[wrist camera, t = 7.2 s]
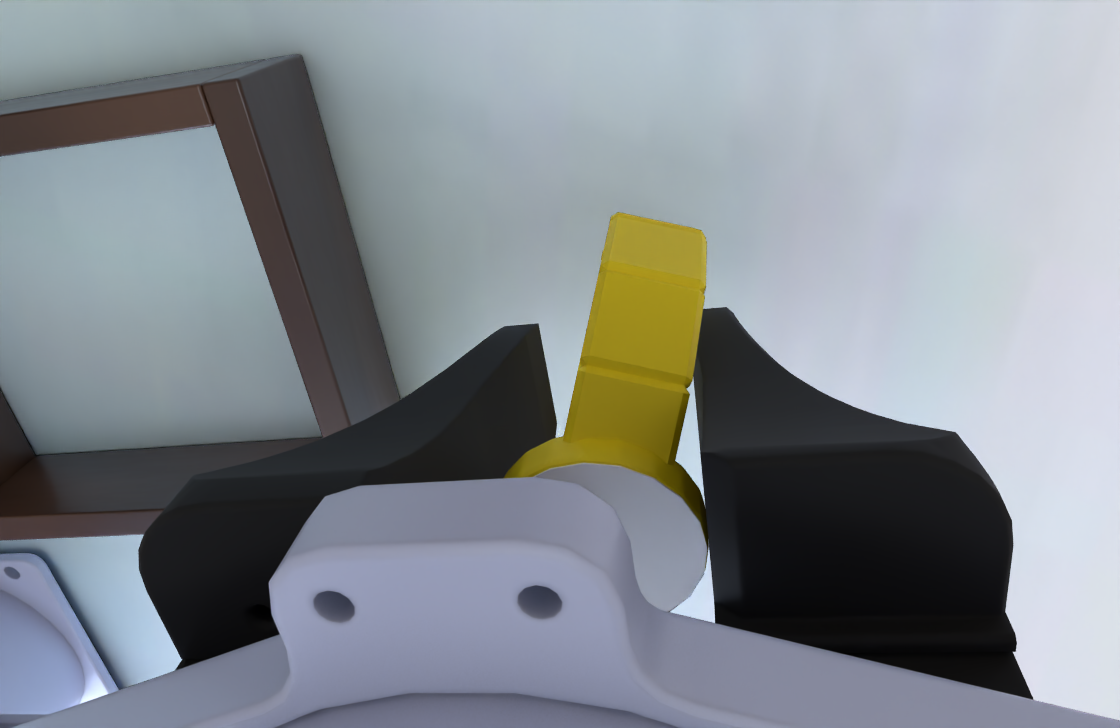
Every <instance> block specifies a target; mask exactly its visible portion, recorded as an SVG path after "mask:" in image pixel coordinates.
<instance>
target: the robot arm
mask: <svg viewBox="0 0 1120 728" xmlns="http://www.w3.org/2000/svg"><path fill="white" fill-rule="evenodd" d="M693 377H694V388H695V399H696V409H697V420H698V431H699V441H700V454H701V465H702V475H703V486H704V496H705V507H706V518H707V528H708V539H709V550H710V560H711V571H712V581H713V592H714V605H715V623H712V622H708V621H704V620H700V619H695V618H691V617H687V616H683V615H679V614H675V613H670V612H666V611H663V610H660V609H658V608H657V607H655V606H653V605H652V604H650V603H649V602H648V601H647V600H646V599H645V598H644V596H643V595H642V593H641V592H640V589H639V585H638V582H637V579H636V576H635V569H634V563H633V556H632V549H631V543H630V539H629V537H628V535H627V533H626V531H625V529H624V527H623V525H622V523H621V521H620V519H619V517H618V515H617V513H616V511H615V509H614V508H613V507H612V506H610V505H609V504H607V503H606V502H605V501H603V500H602V499H600V498H599V497H597V496H596V495H594V494H593V493H591V492H590V491H588V490H587V489H585V488H584V487H582V486H581V485H579V484H575V483H569V482H563V481H557V480H551V479H545V478H539V477H523V478H504V477H505V475H506V473H507V472H508V470H509V469H510V468H511V467H512V466H513V465H514V464H515V463H516V462H517V461H518V460H519V459H520V458H521V457H522V456H523V455H524V454H525V453H526V452H528V451H529V450H531V449H533V448H535V447H537V446H539V445H541V444H543V443H545V442H547V441H549V440H551V439H554V438H555V436H556V427H557V421H556V415H555V410H554V405H553V399H552V394H551V389H550V383H549V378H548V373H547V367H546V362H545V357H544V351H543V346H542V340H541V335H540V330H539V324H527V325H515V326H505V327H503V328H501V329H499V330H497V331H496V332H494V333H493V334H491V335H490V336H489V337H487V338H486V339H485V340H483V341H482V342H481V343H479V344H478V345H477V346H476V347H474V348H473V349H472V350H470V351H469V352H468V353H466V354H465V355H464V356H463V357H461V358H460V359H459V360H457V361H456V362H455V363H453V364H452V365H451V366H449V367H448V368H447V369H445V370H444V371H443V372H441V373H440V374H438V375H437V376H435V377H434V378H433V379H431V380H430V381H428V382H427V383H425V384H424V385H422V386H421V387H419V388H418V389H417V390H415V391H414V392H412V393H411V394H409V395H408V396H406V397H404V398H403V399H401V400H399V401H398V402H396V403H394V404H393V405H391V406H389V407H387V408H386V409H384V410H382V411H380V412H378V413H376V414H374V415H373V416H371V417H369V418H367V419H365V420H363V421H361V422H359V423H356V424H354V425H352V426H349V427H347V428H345V429H342V430H340V431H338V432H336V433H333V434H331V435H329V436H326V437H324V438H322V439H319V440H317V441H314V442H312V443H309V444H306V445H303V446H300V447H297V448H295V449H292V450H289V451H286V452H282V453H279V454H276V455H273V456H270V457H266V458H263V459H259V460H256V461H252V462H248V463H244V464H240V465H235V466H231V467H227V468H223V469H219V470H215V471H210V472H206V473H201V474H196V475H193V476H192V477H191V478H190V479H189V481H188V482H187V483H186V484H185V485H184V487H183V488H182V489H181V490H180V491H179V492H178V494H177V495H176V496H175V497H174V498H173V499H172V501H171V502H170V503H169V504H168V505H167V507H166V508H165V509H164V510H163V511H162V512H161V514H160V515H159V516H158V517H157V518H156V519H155V521H154V522H153V523H152V524H151V525H150V527H149V528H148V529H147V530H146V531H145V533H144V536H143V539H142V541H141V544H140V547H139V571H140V574H141V576H142V579H143V582H144V585H145V588H146V590H147V593H148V595H149V597H150V598H151V600H152V602H153V604H154V606H155V608H156V610H157V612H158V614H159V616H160V618H161V620H162V622H163V624H164V626H165V628H166V630H167V632H168V634H169V635H170V637H171V639H172V641H173V643H174V645H175V647H176V649H177V651H178V653H179V655H180V657H181V659H182V661H181V662H180V664H179V665H178V667H177V668H176V670H175V671H173V672H170V673H167V674H164V675H161V676H159V677H156V678H153V679H150V680H147V681H144V682H141V683H138V684H136V685H133V686H130V687H127V688H124V689H121V690H119V689H118V688H117V686H116V684H115V683H114V681H113V679H112V677H111V676H110V674H109V672H108V670H107V669H106V667H105V665H104V663H103V662H102V660H101V658H100V656H99V655H98V653H97V651H96V650H95V648H94V646H93V644H92V643H91V641H90V639H89V637H88V636H87V634H86V632H85V630H84V629H83V627H82V625H81V623H80V622H79V620H78V618H77V617H76V615H75V613H74V611H73V610H72V608H71V606H70V604H69V603H68V601H67V599H66V597H65V596H64V594H63V592H62V591H61V589H60V587H59V585H58V584H57V582H56V580H55V578H54V577H53V575H52V573H51V571H50V570H49V568H48V566H47V564H46V563H45V562H44V560H43V559H41V558H40V557H39V556H37V555H34V554H30V553H15V554H0V728H1120V720H1115V719H1111V718H1107V717H1103V716H1098V715H1094V714H1090V713H1086V712H1082V711H1078V710H1073V709H1069V708H1065V707H1061V706H1057V705H1053V704H1049V703H1044V702H1040V701H1036V700H1033V697H1032V695H1031V693H1030V690H1029V688H1028V686H1027V684H1026V681H1025V679H1024V677H1023V675H1022V672H1021V670H1020V668H1019V665H1018V663H1017V661H1016V659H1015V656H1014V654H1013V652H1016V645H1017V641H1016V636H1015V632H1014V630H1013V628H1012V626H1011V624H1010V621H1009V619H1008V617H1007V615H1006V613H1005V609H1006V601H1007V592H1008V584H1009V576H1010V568H1011V560H1012V552H1013V532H1012V520H1011V518H1010V515H1009V513H1008V511H1007V509H1006V506H1005V504H1004V502H1003V500H1002V497H1001V495H1000V493H999V491H998V490H997V488H996V486H995V484H994V483H993V481H992V479H991V478H990V476H989V475H988V473H987V472H986V471H985V469H984V468H983V466H982V465H981V464H980V462H979V461H978V460H977V458H976V457H975V456H974V454H973V453H972V452H971V451H970V450H969V448H968V447H967V446H966V445H965V443H964V442H963V441H962V439H961V438H960V437H959V435H958V434H957V433H956V432H951V431H946V430H940V429H935V428H929V427H924V426H918V425H913V424H907V423H903V422H899V421H896V420H892V419H889V418H885V417H882V416H878V415H875V414H872V413H869V412H866V411H863V410H861V409H858V408H855V407H853V406H851V405H848V404H846V403H844V402H841V401H839V400H837V399H835V398H832V397H830V396H828V395H826V394H824V393H822V392H820V391H818V390H817V389H815V388H813V387H812V386H810V385H808V384H807V383H805V382H803V381H802V380H800V379H799V378H797V377H795V376H794V375H793V374H791V373H790V372H788V371H787V370H786V369H785V368H783V367H782V366H781V365H780V364H778V363H777V362H776V361H775V360H774V359H773V358H772V357H771V356H770V355H769V354H768V353H767V352H766V351H765V350H764V349H763V348H762V347H761V346H760V345H759V344H758V343H757V342H756V341H755V340H754V339H753V338H752V337H751V336H750V335H749V334H748V332H747V331H746V330H745V329H744V328H743V326H742V325H741V324H740V323H739V321H738V320H737V318H736V317H735V315H734V313H733V312H731V311H730V310H729V309H728V308H727V307H723V308H711V309H703V313H702V319H701V326H700V333H699V339H698V346H697V353H696V359H695V366H694V373H693Z"/></svg>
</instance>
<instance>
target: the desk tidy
mask: <svg viewBox="0 0 1120 728" xmlns="http://www.w3.org/2000/svg"><path fill="white" fill-rule="evenodd" d="M214 125H216V128H217V131H218V134H219V137H220V140H221V143H222V146H223V149H224V152H225V155H226V157H227V160H228V163H229V166H230V169H231V172H232V175H233V178H234V181H235V184H236V187H237V189H238V192H239V195H240V198H241V201H242V204H243V207H244V210H245V213H246V216H247V219H248V221H249V224H250V227H251V230H252V233H253V236H254V239H255V242H256V245H257V248H258V250H259V253H260V256H261V259H262V262H263V265H264V268H265V271H266V274H267V277H268V280H269V282H270V285H271V288H272V291H273V294H274V297H275V300H276V303H277V306H278V309H279V312H280V314H281V317H282V320H283V323H284V326H285V329H286V332H287V335H288V338H289V341H290V344H291V346H292V349H293V352H294V355H295V358H296V361H297V364H298V367H299V370H300V373H301V376H302V378H303V381H304V384H305V387H306V390H307V393H308V396H309V399H310V402H311V405H312V407H313V410H314V413H315V416H316V419H317V422H318V425H319V428H320V431H321V434H322V437H323V438H324V437H326V436H329V435H331V434H333V433H336V432H338V431H340V430H342V429H345V428H347V427H349V426H352V425H354V424H356V423H359V422H361V421H363V420H365V419H367V418H369V417H371V416H373V415H374V414H376V413H378V412H380V411H382V410H384V409H386V408H387V407H389V406H391V405H393V404H394V403H396V402H398V401H399V400H400V398H399V394H398V391H397V387H396V384H395V380H394V377H393V373H392V370H391V366H390V363H389V359H388V356H387V352H386V349H385V345H384V342H383V338H382V335H381V331H380V328H379V324H378V321H377V317H376V314H375V310H374V307H373V303H372V300H371V296H370V293H369V289H368V286H367V282H366V279H365V275H364V272H363V268H362V265H361V261H360V258H359V254H358V251H357V247H356V244H355V240H354V237H353V233H352V230H351V226H350V223H349V219H348V216H347V212H346V209H345V205H344V202H343V198H342V195H341V191H340V188H339V184H338V181H337V177H336V174H335V170H334V167H333V163H332V160H331V156H330V153H329V149H328V146H327V142H326V139H325V135H324V132H323V128H322V125H321V121H320V118H319V114H318V111H317V107H316V104H315V100H314V97H313V93H312V90H311V86H310V83H309V79H308V76H307V72H306V69H305V65H304V61H303V58H302V56H301V55H299V54H295V55H289V56H282V57H276V58H270V59H267V60H265V59H263V60H257V61H251V62H244V63H238V64H232V65H225V66H219V67H213V68H206V69H200V70H194V71H188V72H181V73H175V74H169V75H162V76H156V77H150V78H143V79H137V80H131V81H124V82H118V83H112V84H106V85H99V86H93V87H87V88H80V89H74V90H68V91H61V92H55V93H49V94H42V95H36V96H30V97H24V98H17V99H11V100H5V101H0V157H1V156H8V155H15V154H22V153H29V152H36V151H43V150H50V149H57V148H64V147H71V146H78V145H85V144H92V143H98V142H105V141H112V140H119V139H126V138H133V137H140V136H147V135H154V134H161V133H168V132H175V131H182V130H189V129H196V128H203V127H210V126H214ZM319 439H322V438H309V439H293V440H277V441H262V442H246V443H230V444H214V445H198V446H183V447H167V448H151V449H135V450H120V451H104V452H88V453H72V454H56V455H41V456H35V454H34V452H33V450H32V448H31V447H30V445H29V443H28V441H27V439H26V437H25V436H24V434H23V432H22V430H21V428H20V426H19V424H18V423H17V421H16V419H15V417H14V415H13V413H12V412H11V410H10V408H9V406H8V404H7V402H6V400H5V399H4V397H3V395H2V393H1V391H0V541H1V540H25V539H49V538H73V537H97V536H121V535H144V533H145V531H146V530H147V529H148V528H149V527H150V525H151V524H152V523H153V522H154V521H155V519H156V518H157V517H158V516H159V515H160V514H161V512H162V511H163V510H164V509H165V508H166V507H167V505H168V504H169V503H170V502H171V501H172V499H173V498H174V497H175V496H176V495H177V494H178V492H179V491H180V490H181V489H182V488H183V487H184V485H185V484H186V483H187V482H188V481H189V479H190V478H191V477H192V476H193V475H196V474H201V473H206V472H210V471H215V470H219V469H223V468H227V467H231V466H235V465H240V464H244V463H248V462H252V461H256V460H259V459H263V458H266V457H270V456H273V455H276V454H279V453H282V452H286V451H289V450H292V449H295V448H297V447H300V446H303V445H306V444H309V443H312V442H314V441H317V440H319Z"/></svg>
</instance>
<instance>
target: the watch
mask: <svg viewBox="0 0 1120 728" xmlns="http://www.w3.org/2000/svg"><path fill="white" fill-rule="evenodd" d="M706 254H707V241H706V237H705V236H704V234H703V232H702V231H701V230H698V229H695V228H691V227H687V226H682V225H677V224H672V223H668V222H663V221H658V220H653V219H649V218H644V217H639V216H634V215H630V214H625V213H620V212H617V213H616V214H614V215H613V216H611V219H610V224H609V228H608V233H607V237H606V242H605V247H604V251H603V252H602V257H601V260H602V261H601V265H600V270H599V275H598V279H597V284H596V288H595V293H594V298H593V302H592V307H591V312H590V316H589V321H588V326H587V330H586V335H585V339H584V344H583V349H582V353H581V358H580V363H579V367H578V372H577V377H576V381H575V386H574V391H573V395H572V400H571V404H570V409H569V414H568V418H567V423H566V428H565V432H564V436H563V437H558V438H554V439H551V440H549V441H547V442H545V443H543V444H541V445H539V446H537V447H535V448H533V449H531V450H529V451H528V452H526V453H525V454H524V455H523V456H522V457H521V458H520V459H519V460H518V461H517V462H516V463H515V464H514V465H513V466H512V467H511V468H510V469H509V470H508V472H507V473H506V475H505V477H504V478H523V477H539V478H545V479H551V480H557V481H563V482H569V483H575V484H579V485H581V486H582V487H584V488H585V489H587V490H588V491H590V492H591V493H593V494H594V495H596V496H597V497H599V498H600V499H602V500H603V501H605V502H606V503H607V504H609V505H610V506H612V507H613V508H614V509H615V511H616V513H617V515H618V517H619V519H620V521H621V523H622V525H623V527H624V529H625V531H626V533H627V535H628V537H629V539H630V543H631V549H632V556H633V563H634V569H635V576H636V579H637V582H638V585H639V589H640V592H641V593H642V595H643V596H644V598H645V599H646V600H647V601H648V602H649V603H650V604H652V605H653V606H655V607H657V608H658V609H660V610H663V611H666V612H670V611H671V610H673V609H674V608H675V607H677V606H678V605H679V604H681V603H682V602H683V601H684V600H686V599H687V598H688V597H690V596H691V594H692V592H693V591H694V589H695V588H696V586H697V584H698V583H699V581H700V580H701V578H702V576H703V575H704V571H705V568H706V562H707V555H708V547H709V542H708V528H707V518H706V509H705V505H704V501H703V498H702V495H701V492H700V490H699V488H698V486H697V485H696V484H695V482H694V481H693V480H692V478H691V477H690V476H689V474H688V473H687V472H686V470H685V469H684V468H683V467H682V466H681V465H680V464H679V463H677V462H676V461H675V459H676V454H677V450H678V445H679V441H680V436H681V432H682V427H683V423H684V418H685V413H686V409H687V404H688V400H689V395H690V394H689V392H688V391H687V389H686V388H688V387H689V386H690V384H691V382H692V379H693V373H694V366H695V359H696V353H697V346H698V339H699V333H700V326H701V319H702V313H703V306H704V299H705V296H704V291H705V288H706Z"/></svg>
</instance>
